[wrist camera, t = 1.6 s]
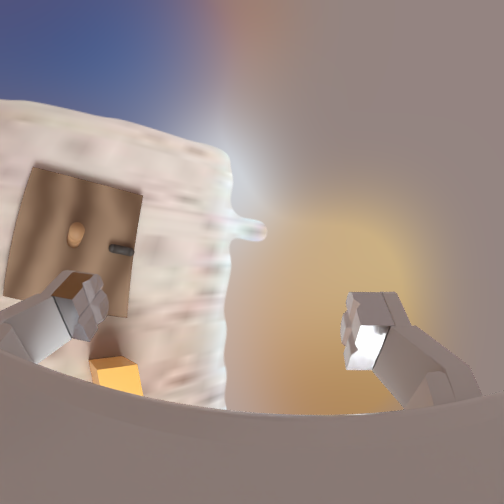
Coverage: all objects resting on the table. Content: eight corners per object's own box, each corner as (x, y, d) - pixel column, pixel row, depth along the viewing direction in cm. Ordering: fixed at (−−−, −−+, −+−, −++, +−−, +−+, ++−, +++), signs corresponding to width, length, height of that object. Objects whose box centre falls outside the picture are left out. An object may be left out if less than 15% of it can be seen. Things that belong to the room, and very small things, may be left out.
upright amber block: (95, 394, 34) (105, 410, 28) (88, 359, 34) (96, 369, 28) (128, 389, 37) (144, 403, 31) (121, 355, 37) (137, 364, 31)
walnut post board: (4, 296, 29) (-5, 292, 23) (33, 171, 33) (32, 147, 28) (124, 317, 39) (137, 317, 34) (140, 199, 44) (155, 181, 38)
